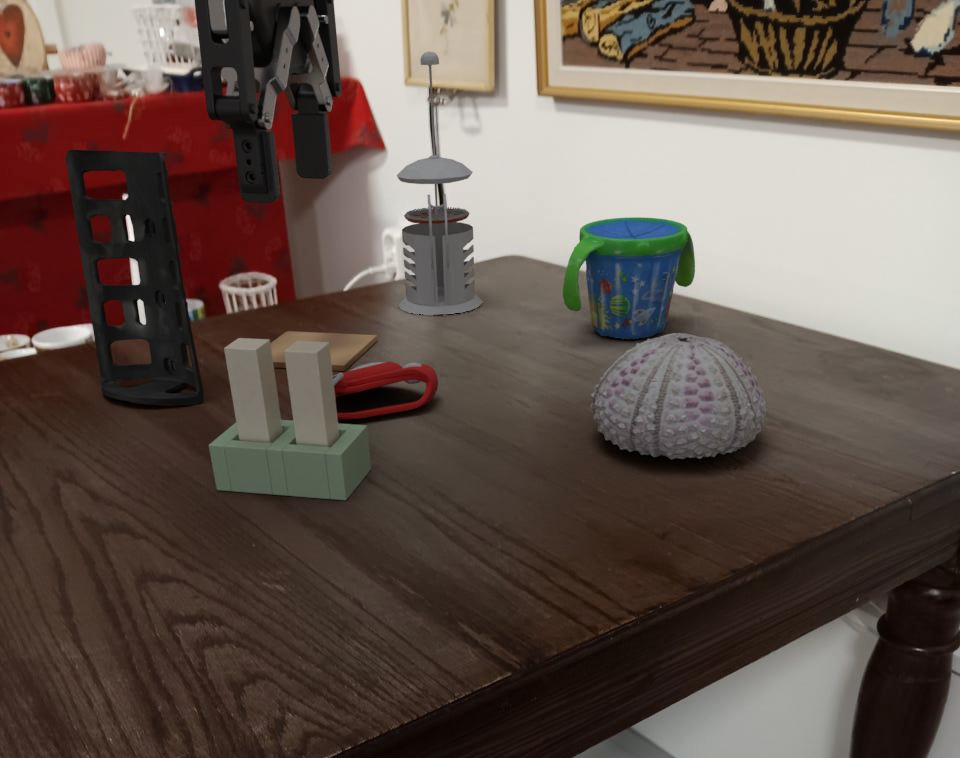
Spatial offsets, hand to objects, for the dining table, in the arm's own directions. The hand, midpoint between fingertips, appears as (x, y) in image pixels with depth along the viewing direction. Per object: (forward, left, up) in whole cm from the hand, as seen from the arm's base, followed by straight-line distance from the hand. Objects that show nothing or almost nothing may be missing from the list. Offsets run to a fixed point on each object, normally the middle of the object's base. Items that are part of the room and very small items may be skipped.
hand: (289, 189), depth 61 cm
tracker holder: (-3, +16, -20) cm, 26 cm away
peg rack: (-3, +1, -20) cm, 20 cm away
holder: (-23, +17, -20) cm, 35 cm away
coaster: (-13, +30, -20) cm, 38 cm away
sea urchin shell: (+24, +13, -20) cm, 34 cm away
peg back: (-5, +1, -20) cm, 21 cm away
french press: (-5, +49, -20) cm, 53 cm away
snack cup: (+17, +42, -20) cm, 50 cm away
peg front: (0, +1, -20) cm, 20 cm away
